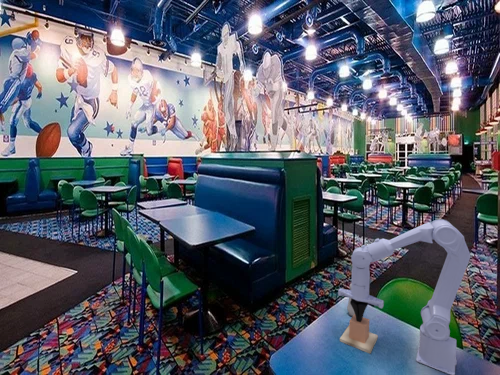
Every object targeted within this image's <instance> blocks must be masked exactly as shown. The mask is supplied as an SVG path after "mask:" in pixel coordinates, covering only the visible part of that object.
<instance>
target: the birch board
mask: <svg viewBox="0 0 500 375" xmlns="http://www.w3.org/2000/svg"><path fill="white" fill-rule="evenodd" d="M378 339H379V336H378V334H375V333H372V332H371V331H369V337H368V339H367V341H366V342H365V344H364V343H362V342H359V341H357V340H354V339H352V338H349V325H348V326H347V327H346V329H345V330H344V332H343V333H342V335H341V336H340V337H339V342H341V343H342V344H345V345H348V346H350V347H353V348H355V349H357V350H359V351H362V352H365V353H367V354H370V355H371V354H372V351H373V349H374V348H375V345H376V342H377V340H378Z"/></svg>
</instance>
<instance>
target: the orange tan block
mask: <svg viewBox="0 0 500 375" xmlns="http://www.w3.org/2000/svg"><path fill="white" fill-rule="evenodd" d="M348 324H349V325H348V326H349V338H352V339H354V340H357V341H359V342H362V343H364V344H365V342H366V341H367V339H368V337H369V332H370V319H369V318H366V317H364V316H363V318H362V321H361V322H358V321H356V316H355V314H354V315H353V316H351V318H350V319H349V322H348Z"/></svg>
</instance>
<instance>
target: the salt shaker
mask: <svg viewBox="0 0 500 375" xmlns="http://www.w3.org/2000/svg"><path fill="white" fill-rule="evenodd" d="M348 288H349V290H351V283H350V284H349V287H348ZM350 301H351V298H349V297H348V302H347V306H346V309H347V312H348V314H349V316H351V317H353V315H354V314H355V312H354V310H353V308H352V306H351V304H350Z"/></svg>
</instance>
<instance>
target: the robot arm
mask: <svg viewBox="0 0 500 375" xmlns="http://www.w3.org/2000/svg"><path fill="white" fill-rule="evenodd" d="M433 240H434V242H436V244H438V245H439V246H440V247H442V248H444V250H445V251H446V253H447V254H446V257H445V261H444V263H443V266H442V268H441V271H440V274H439V277H438V280H437V282H436V285H435V288H434V291H433V293H432V297H431V299H429V300H428V301H427V304H426V305H425V306H424V307H422V308H421V311H420V316H421V319H422V323H421V325H420V327H419V340H418V341H419V343H418V344H419V346H418V348H417V354H416V359H415V361H416V362H417V363H419V364H422V365H425V366H427V367H430V368H433V369H434V370H435V369H436V370H437V371H439V372H443V373H445V374H448V375H456V366H457V364H458V359H457V358H456V357H457V339H456V338H453V337H451V336H450V335H451V334H450V333H451V330H450V327H449V325H450V323H451V310H452V306H453V304H454V302H455V300H456V296H457V293H458V290H459V288H460V286H461V283H462V282H463V281H462V280H463V279H464V278H463V277H464V275H465V272H466V271H467V270H466V269H467V267H468V264H469V262H470V259H471V253H470V251H469V248H468V245H467V243H466V241H465V235H463V234H462V233H461V232H460V231H459V230H458V228H456V227H455V226H454V225H453V224H452V223H450V221H448V220H447V219H443V218H441V219H435V220H433V221H431V222H429V221H428V222H425V223H424V224H422V225H419V226H417V227H416V226H415V227H414V228H413V229H410V230H408V231H405V232H404V233H401V234H400V235H398V236H395V237H393V238H391V239H386V238H379V237H377V238H375V239H374V241H373V242H372V243H368V244H366V245H365V244H363V245H361V246H360V247H359V246H358V247H356V248H355V249H354V250H353V252H352V254H351V256H350V259H351V260H350V261H351V264H352V265H351V267H352V268H351V283H350V284H351V290H350V289H345V288H339V289H338V292H337V294H338V295H337V296H340V297H342V296H343V297H347V298H348V299H349V298H351V301H350V304H351V306H352V308H353V310H354V312H355V316H356V321H358V322H361V321H362V318H363V317H364V314H365V312H366V309H367V307H368V305H373V306H375V307H378V308H379V309H383V308H384V304H385V301H384V300H383V299H380V298H377V297H375V296H374V295H370V281H371V280H370V278H371V276H370V273H371V272H370V265H371V263H375V262H378V261H379V260H382V259H385V258H388V257H390V256H392V255H394V252H395V250H397V249H400V248H403V247H406V246H408V245H409V246H410V245H411V244H412V245H413V244H414V243H418V242H424V243H427V244H433V243H434V242H433Z"/></svg>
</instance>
